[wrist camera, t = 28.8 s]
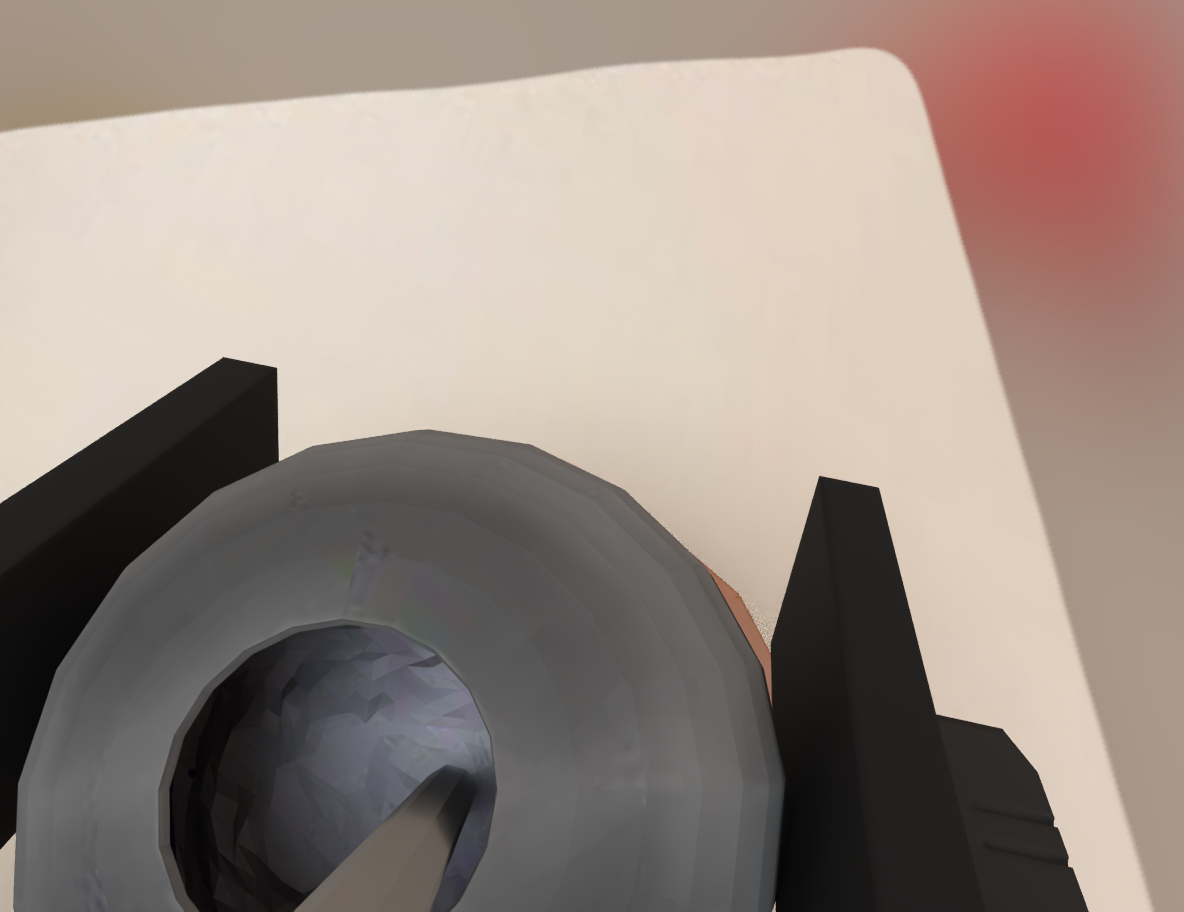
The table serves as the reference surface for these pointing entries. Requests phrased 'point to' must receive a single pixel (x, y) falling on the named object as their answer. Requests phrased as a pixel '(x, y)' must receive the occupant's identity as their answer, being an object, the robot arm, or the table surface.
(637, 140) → the table surface
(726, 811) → the beverage cup
